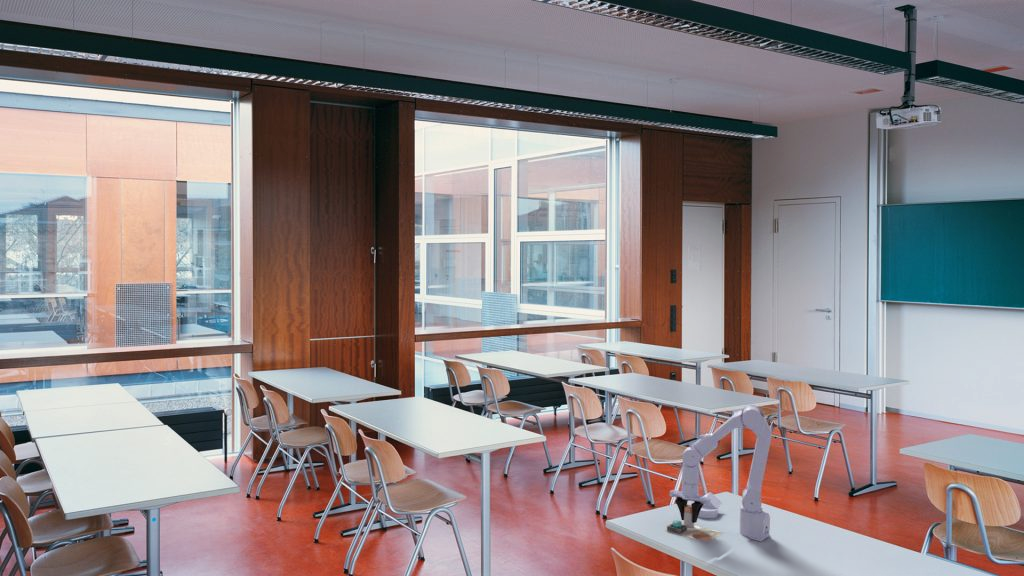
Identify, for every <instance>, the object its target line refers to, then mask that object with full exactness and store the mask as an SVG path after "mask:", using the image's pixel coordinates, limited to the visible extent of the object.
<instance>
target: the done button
mask: <svg viewBox="0 0 1024 576" xmlns="http://www.w3.org/2000/svg"><path fill="white" fill-rule="evenodd" d="M682 522H683V521H680V520H673V521H672V523H673V527H675V528H678V529H680V528H682Z"/></svg>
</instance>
